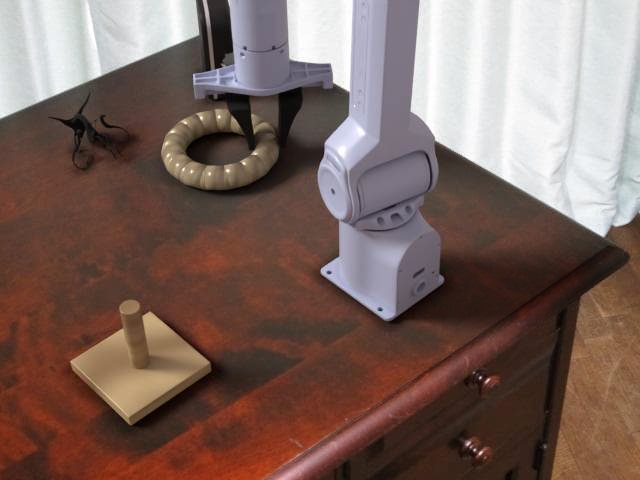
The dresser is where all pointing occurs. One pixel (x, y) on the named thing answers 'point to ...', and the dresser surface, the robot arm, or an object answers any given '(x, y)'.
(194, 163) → the segmented beige ring
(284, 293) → the dresser surface
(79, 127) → the creature
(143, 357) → the stand
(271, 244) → the dresser surface
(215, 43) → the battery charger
